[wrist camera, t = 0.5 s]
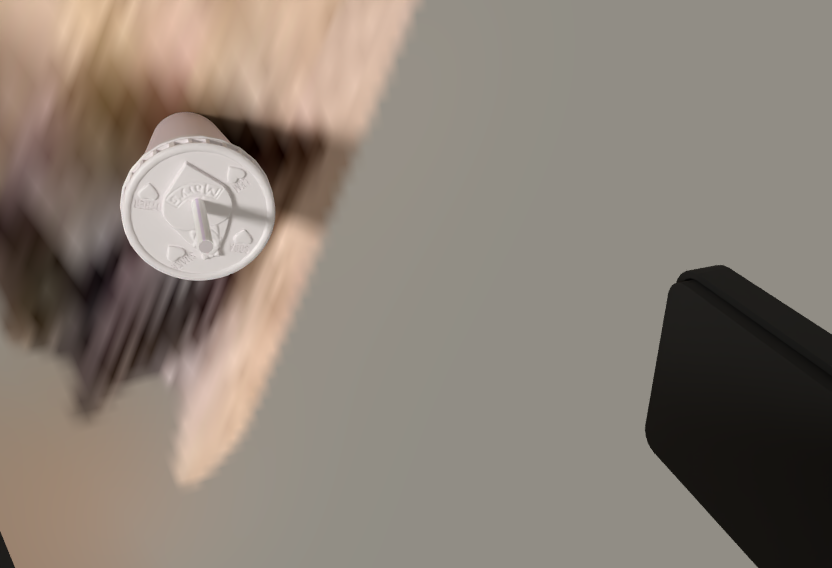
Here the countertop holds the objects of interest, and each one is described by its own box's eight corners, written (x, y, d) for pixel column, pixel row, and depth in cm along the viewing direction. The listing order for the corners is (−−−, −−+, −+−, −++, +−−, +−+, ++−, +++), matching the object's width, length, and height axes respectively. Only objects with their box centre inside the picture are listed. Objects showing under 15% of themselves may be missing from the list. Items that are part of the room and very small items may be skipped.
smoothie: (234, 75, 38) (277, 162, 26) (259, 188, 41) (308, 309, 30) (106, 98, 37) (92, 200, 25) (143, 214, 40) (146, 351, 28)
